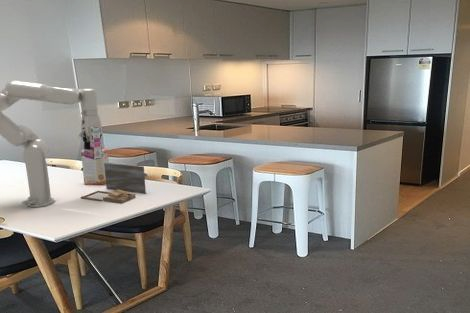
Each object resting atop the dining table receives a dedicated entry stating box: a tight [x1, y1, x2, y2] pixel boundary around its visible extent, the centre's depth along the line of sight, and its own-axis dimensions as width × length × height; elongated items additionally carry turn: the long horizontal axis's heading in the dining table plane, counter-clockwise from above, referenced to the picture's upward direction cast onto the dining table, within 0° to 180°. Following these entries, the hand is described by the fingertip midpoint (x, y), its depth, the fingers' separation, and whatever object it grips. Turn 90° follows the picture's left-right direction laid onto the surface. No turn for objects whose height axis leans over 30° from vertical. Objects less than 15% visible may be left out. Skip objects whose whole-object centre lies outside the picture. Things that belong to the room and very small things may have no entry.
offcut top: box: [107, 189, 128, 199], centre depth 207 cm, size 6×8×2 cm
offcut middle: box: [105, 195, 129, 200], centre depth 208 cm, size 7×9×2 cm
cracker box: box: [80, 148, 109, 186], centre depth 241 cm, size 14×6×21 cm, turn 84°
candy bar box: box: [82, 126, 103, 160], centre depth 208 cm, size 11×5×16 cm, turn 45°
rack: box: [80, 162, 147, 205], centre depth 213 cm, size 20×26×16 cm
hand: (92, 147), depth 209 cm, fingers closed on candy bar box, 6 cm apart
